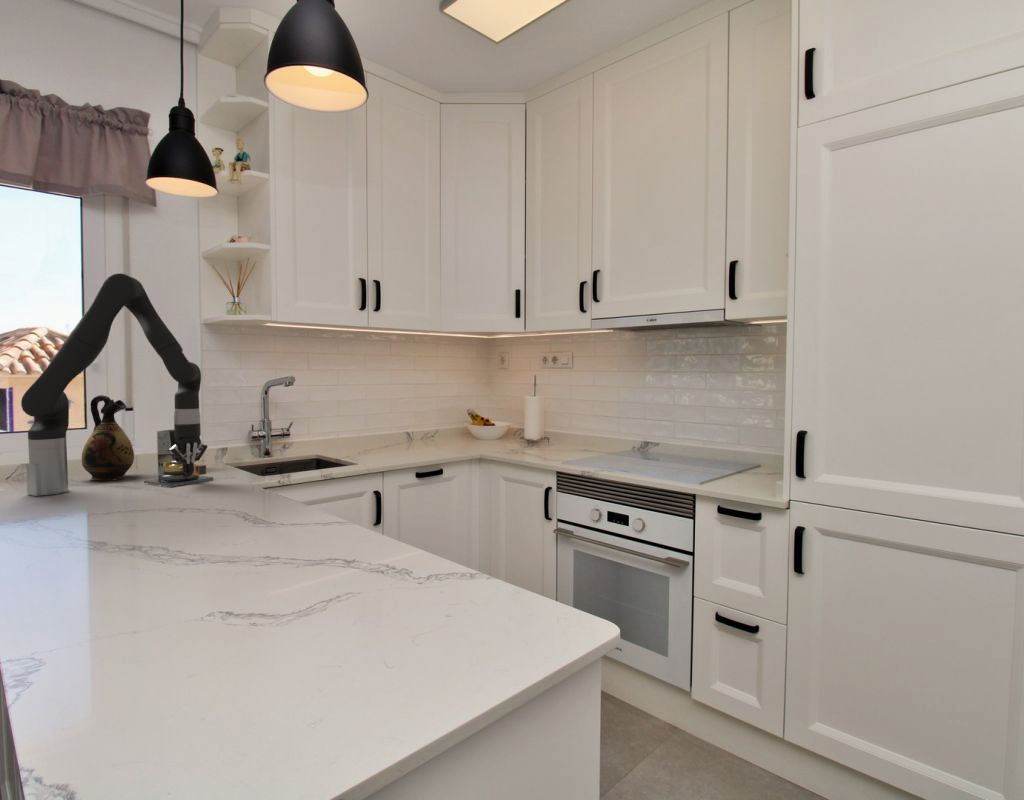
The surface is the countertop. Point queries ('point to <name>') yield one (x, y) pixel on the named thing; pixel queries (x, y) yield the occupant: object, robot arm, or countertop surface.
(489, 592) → the countertop surface
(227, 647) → the countertop surface
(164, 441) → the coffee box
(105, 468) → the ceramic jug
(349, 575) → the countertop surface
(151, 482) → the housing
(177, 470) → the rotary lever handle
